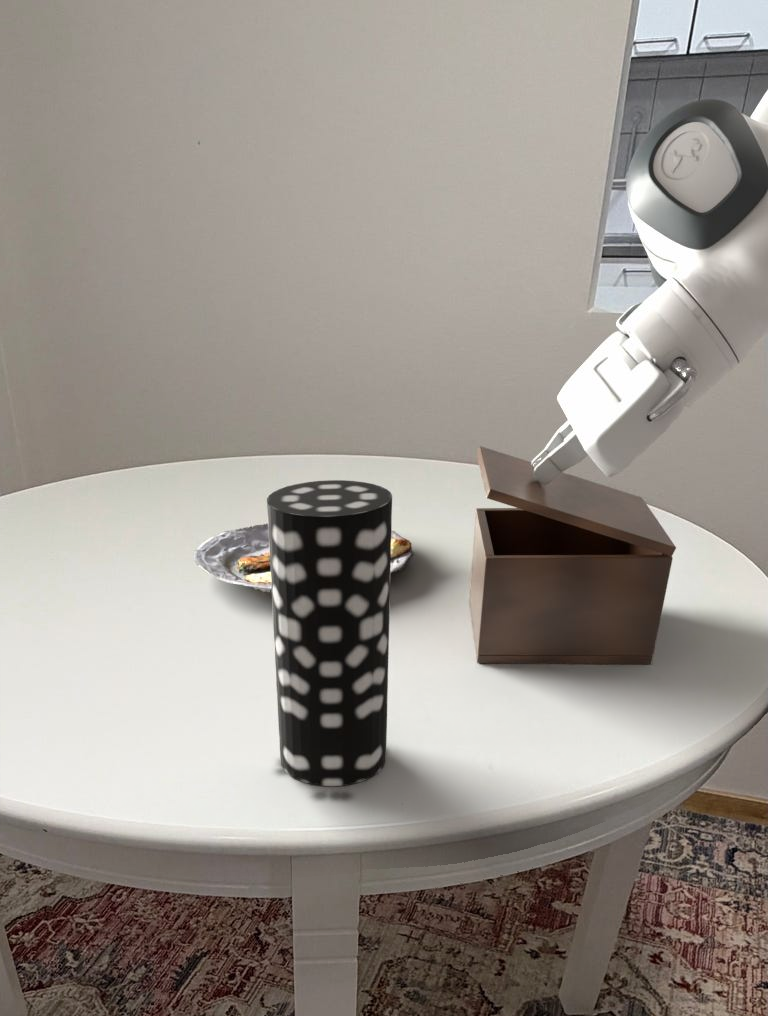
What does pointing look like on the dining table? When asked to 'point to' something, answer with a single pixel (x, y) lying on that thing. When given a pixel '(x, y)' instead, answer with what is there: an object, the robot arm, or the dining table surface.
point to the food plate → (263, 556)
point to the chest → (561, 592)
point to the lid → (572, 501)
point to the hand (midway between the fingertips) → (536, 474)
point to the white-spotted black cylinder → (331, 627)
